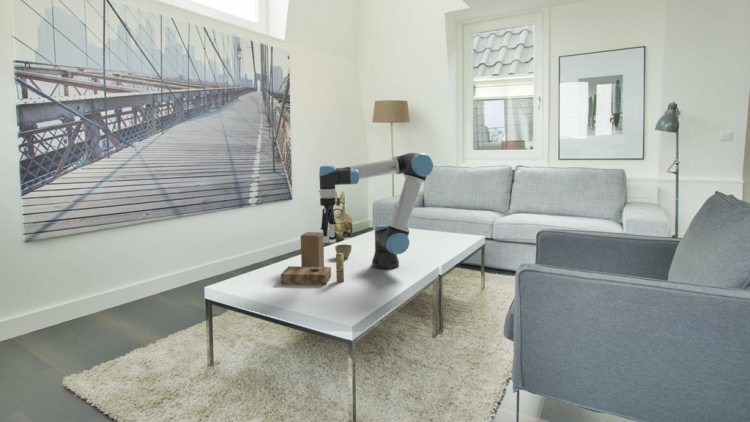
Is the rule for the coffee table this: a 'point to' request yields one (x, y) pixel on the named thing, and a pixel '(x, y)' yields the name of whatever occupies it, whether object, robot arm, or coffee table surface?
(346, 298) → the coffee table surface
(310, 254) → the block
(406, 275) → the coffee table surface
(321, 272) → the board
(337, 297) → the coffee table surface
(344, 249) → the flower pot
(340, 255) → the peg
